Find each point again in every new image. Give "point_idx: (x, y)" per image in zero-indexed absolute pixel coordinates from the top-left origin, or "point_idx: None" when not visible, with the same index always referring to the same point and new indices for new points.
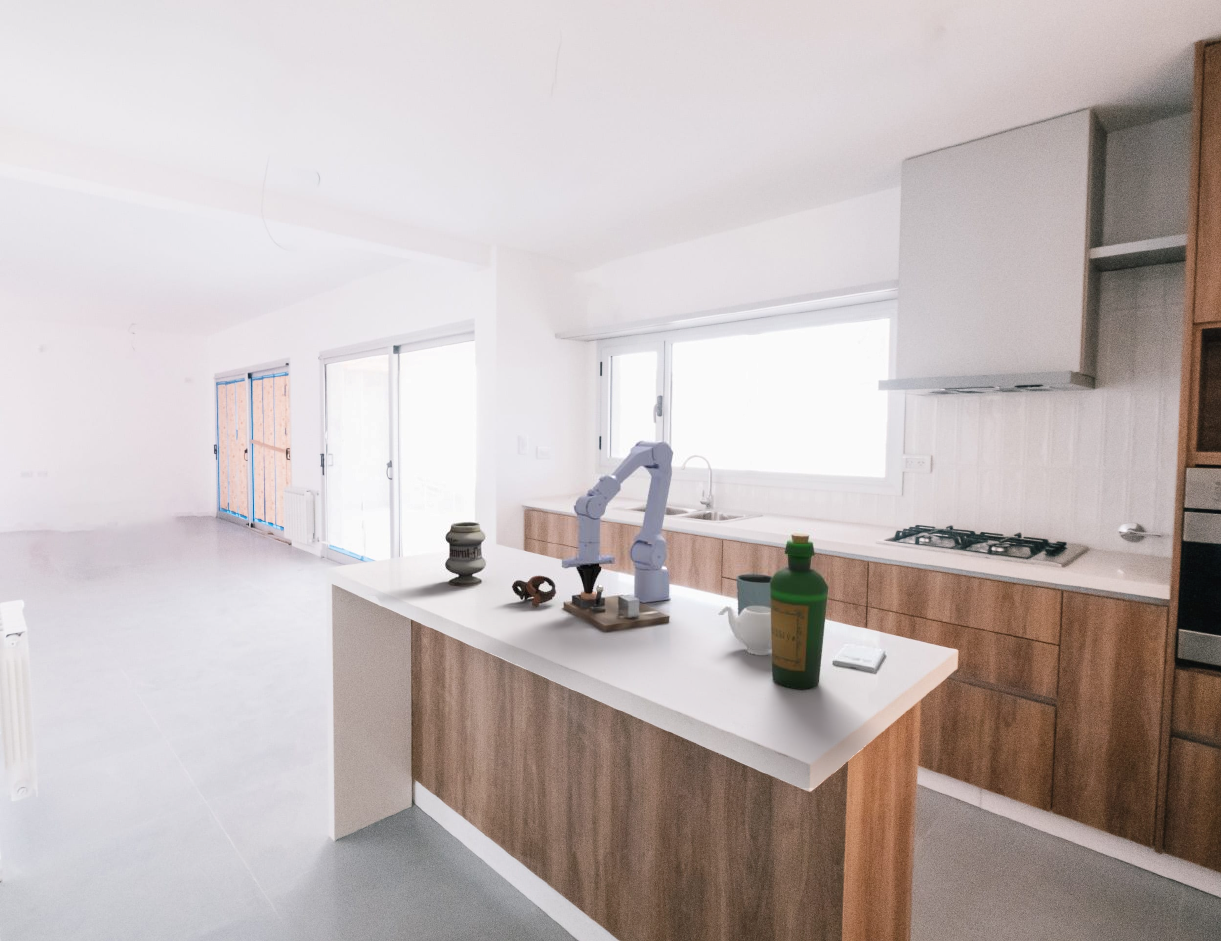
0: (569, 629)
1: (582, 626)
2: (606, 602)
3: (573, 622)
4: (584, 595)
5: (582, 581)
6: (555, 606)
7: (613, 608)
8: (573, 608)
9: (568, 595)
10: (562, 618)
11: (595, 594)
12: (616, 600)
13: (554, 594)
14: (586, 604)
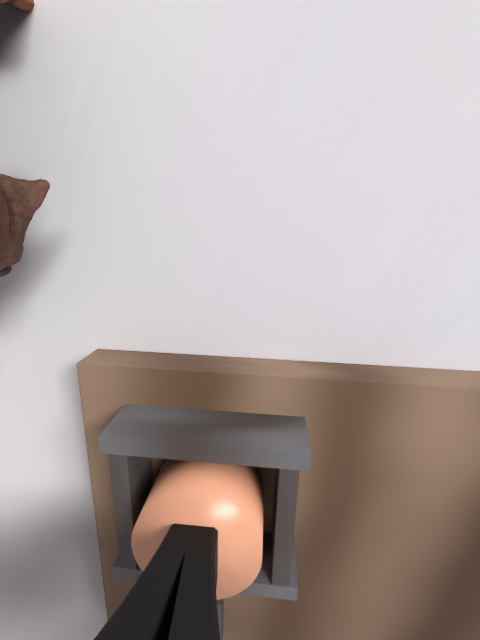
0: (17, 630)
1: (79, 628)
2: (343, 505)
3: (61, 576)
4: (146, 564)
5: (111, 629)
6: (60, 296)
7: (301, 611)
8: (95, 495)
9: (278, 11)
10: (31, 509)
11: (238, 585)
12: (439, 500)
13: (11, 253)
14: None
